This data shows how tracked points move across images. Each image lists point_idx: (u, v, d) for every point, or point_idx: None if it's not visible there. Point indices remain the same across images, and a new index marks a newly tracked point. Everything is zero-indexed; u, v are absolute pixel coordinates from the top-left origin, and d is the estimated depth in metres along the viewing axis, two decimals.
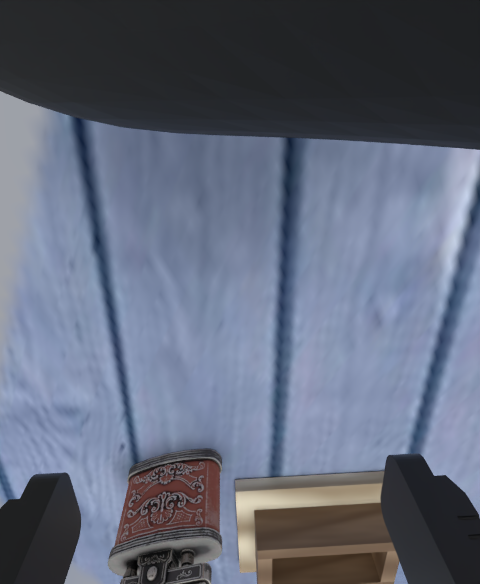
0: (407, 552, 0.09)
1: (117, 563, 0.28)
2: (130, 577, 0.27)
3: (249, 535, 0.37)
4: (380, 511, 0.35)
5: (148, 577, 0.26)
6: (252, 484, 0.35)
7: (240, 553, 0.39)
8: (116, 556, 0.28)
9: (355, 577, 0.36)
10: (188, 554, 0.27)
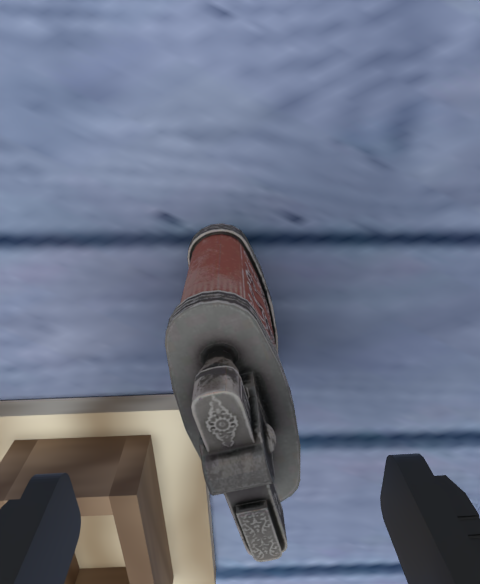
0: (407, 552, 0.09)
1: (223, 324, 0.11)
2: (240, 386, 0.10)
3: (79, 430, 0.20)
4: (170, 580, 0.25)
5: (267, 438, 0.11)
6: None
7: (19, 418, 0.20)
8: (253, 325, 0.11)
9: None
10: None
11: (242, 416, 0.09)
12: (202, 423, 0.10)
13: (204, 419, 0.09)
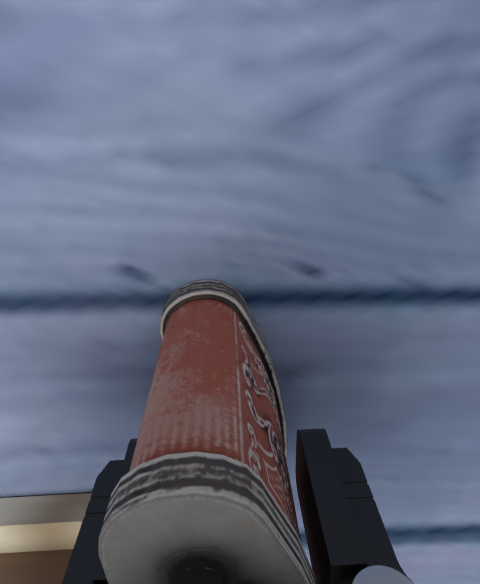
0: (306, 516, 0.10)
1: (204, 524, 0.06)
2: None
3: (24, 544, 0.15)
4: None
5: None
6: None
7: None
8: (258, 524, 0.06)
9: None
10: None
11: None
12: None
13: None
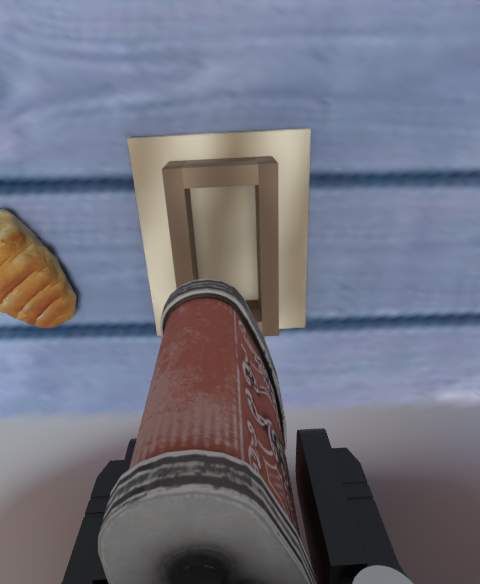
0: (306, 516, 0.10)
1: (204, 523, 0.06)
2: None
3: (219, 151, 0.27)
4: None
5: None
6: None
7: (176, 138, 0.27)
8: (258, 522, 0.06)
9: None
10: None
11: None
12: None
13: None
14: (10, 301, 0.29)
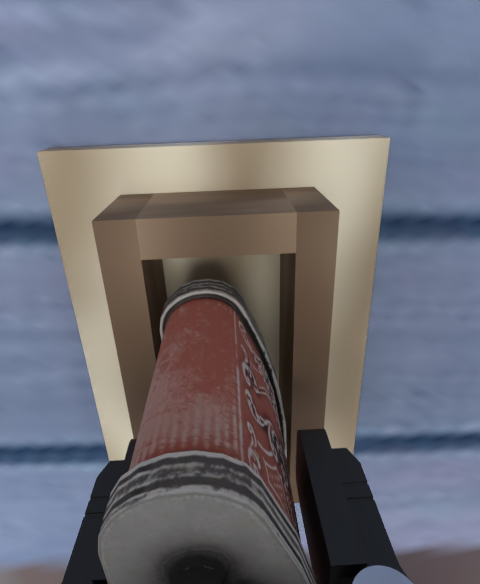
0: (306, 516, 0.10)
1: (203, 523, 0.06)
2: None
3: (214, 177, 0.14)
4: None
5: None
6: None
7: (132, 152, 0.14)
8: (258, 523, 0.06)
9: None
10: None
11: None
12: None
13: None
14: None
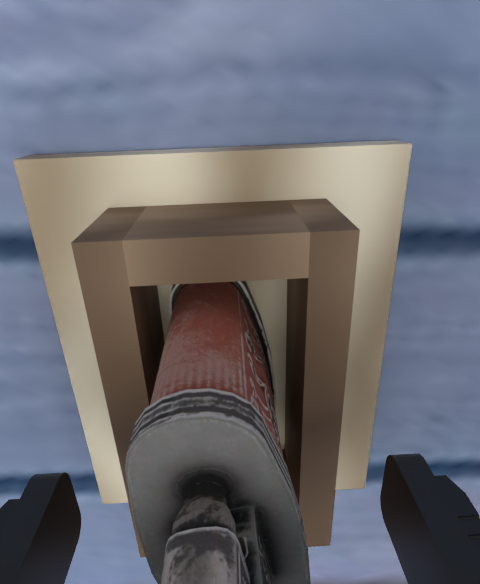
0: (407, 552, 0.09)
1: (215, 445, 0.07)
2: (236, 552, 0.07)
3: (214, 188, 0.13)
4: None
5: None
6: None
7: (121, 160, 0.12)
8: (259, 448, 0.07)
9: None
10: None
11: None
12: None
13: None
14: None
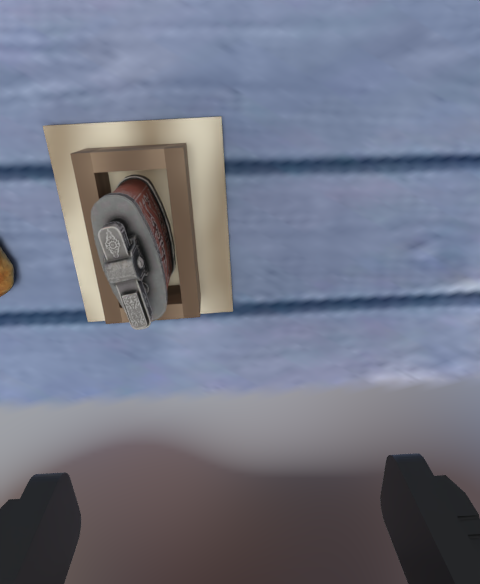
0: (407, 552, 0.09)
1: (119, 207, 0.22)
2: (124, 233, 0.22)
3: (134, 138, 0.28)
4: (199, 290, 0.32)
5: (137, 260, 0.22)
6: None
7: (91, 125, 0.27)
8: (134, 208, 0.23)
9: None
10: (145, 292, 0.24)
11: (121, 241, 0.21)
12: (103, 243, 0.21)
13: (104, 242, 0.21)
14: None
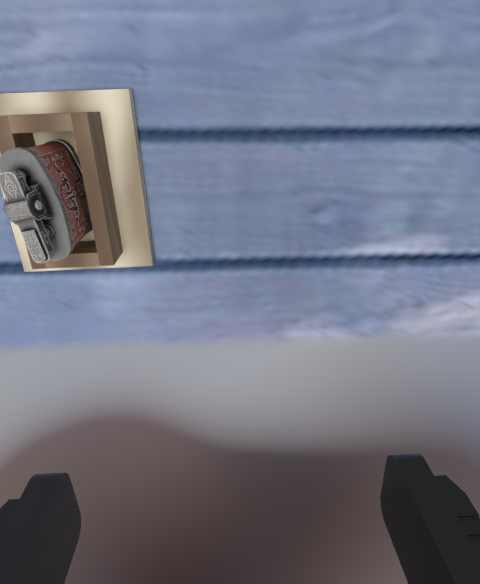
0: (407, 552, 0.09)
1: (22, 159, 0.27)
2: (24, 180, 0.26)
3: (54, 106, 0.32)
4: (119, 244, 0.37)
5: (35, 202, 0.27)
6: (133, 109, 0.33)
7: (16, 95, 0.32)
8: (34, 160, 0.27)
9: None
10: (50, 233, 0.29)
11: (18, 184, 0.26)
12: (2, 186, 0.26)
13: (3, 185, 0.26)
14: None
